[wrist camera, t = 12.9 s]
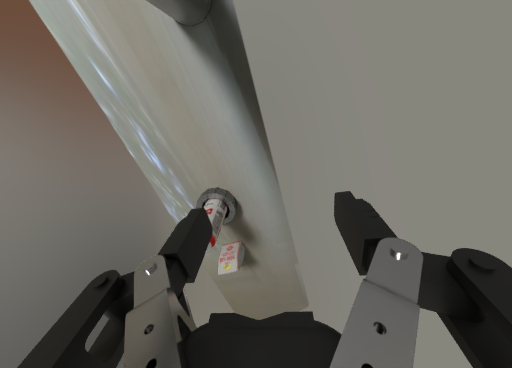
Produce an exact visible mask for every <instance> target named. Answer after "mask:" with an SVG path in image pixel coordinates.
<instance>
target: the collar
mask: <svg viewBox="0 0 512 368" xmlns="http://www.w3.org/2000/svg"><path fill="white" fill-rule="evenodd" d="M211 198H217V199H220V200H223V201H224V202H225V203H226V204H227V205H228V209H227V212H228V211H229V210H230V211H229V212H228V213H227V212H226V215H225V218H224V220H223V223H222V225H223V224H227V223H228V222H230V221H231V220H233V218H234V215H235V212H236V209H237V203H236V200H235V197H234V196H233V195H232V194H231V193H229V192H227V190H224V189H221V188H211V189H207V190H206V191H205V192H203V193H202V194H201V196H200V197H199V199H198V201H197V205H196V209H197V208H204V206H205V201H206V202H207V200H208V199H211Z"/></svg>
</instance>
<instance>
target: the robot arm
mask: <svg viewBox="0 0 512 368" xmlns="http://www.w3.org/2000/svg"><path fill="white" fill-rule="evenodd" d="M146 1H148V2H149V3H151V4H152V5H154V6H155V7H157V8H158V9H160V10H161V11H163V12H164V13H166V14H167V15H169V16H170V17H172V18H173V19H175V20H176V21H178V22H180V23H181V24H184V25H196V24H198V23H200V22H201V21H203V19H204V18H205V17H206V16H207V14H208V12H209V9H210V6H211V0H146ZM334 203H335V204H334V217H335V222H336V225H337V227H338V229H339V231H340V233H341V236H342V238H343V240H344V242H345V244H346V246H347V249H348V251H349V253H350V255H351V257H352V259H353V262H354V264H355V266H356V268H357V270H358V272H359V275H367V276H366V278H365V279H363V281H362V283H361V285H360V288H359V291H358V293H357V296H356V299H355V301H354V304H353V307H352V309H351V312H350V315H349V317H348V320H347V323H346V325H345V328H344V330H343V333H342V335H341V334H340V333H339V332H337V331H336V330H335V329H333V328H331V327H329V326H328V325H326V324H324V323H321V322H319V321H315V320H314V318H313V312H284V313H281V314H278V315H275V316H272V317H269V318H265V319H262V320H255V319H252V318H249V317H246V316H242V315H239V314H236V313H212V314H211V315H210V319H209V323H206V324H204V325H202V326H200V327H199V328H197V327H196V325H195V323H194V320H193V317H192V313H191V310H190V306H189V303H188V300H187V296H186V293H185V290H184V289H183V288H184V285H185V283H194V281H195V278H196V276H197V273H198V270H199V268H200V265H201V263H202V260H203V258H204V255H205V253H206V250H207V247H208V245H209V242H210V240H211V237H212V234H213V228H212V224H211V222H210V219H209V217H208V214H207V212H206V210H205V208H197V209H192V210H191V211H190V212H189V214H188V215H187V217H186V218H184V219H183V220H181V221H180V222H179V223H178V224H177V226H176V227H175V229H174V231H173V232H172V233H171V236H170V237H169V238H168V240H167V241H166V243H165V244H164V246H163V247H162V249H161V250H160V252H159V253H158V255H156V256H152V257H150V258H148V259H146V260H145V261H144V262H142V263H141V264H140V265H139V266H138V267H137V269H136V271H134V272H131V273H128V274H126V275H123V276H121V275H120V274H119V273H118V272H117V271H116V270H110V271H107V272H104V273H103V274H101V275H99V276H98V277H96V278H95V279H94V280H92V281H91V282H90V284H88V286H87V287H86V288H85V289H84V290H83V291H82V293H81V294H80V295H79V296H78V297H77V298H76V300H75V301H74V302H73V303H72V304H71V305H70V307H69V308H68V309H67V310H66V311H65V313H64V314H63V315H62V316H61V317H60V318H59V320H58V321H57V322H56V323H55V324H54V325H53V326H52V328H51V329H50V330H49V331H48V332H47V334H46V335H45V336H44V337H43V338H42V339H41V341H40V342H39V343H38V344H37V345H36V346H35V348H34V349H33V350H32V351H31V352H30V353H29V354H28V356H27V357H26V358H25V359H24V360H23V361H22V363H21V364H20V365H19V366H18V367H17V368H116V367H117V365H118V363H119V361H120V359H121V357H122V355H123V353H124V368H413V362H414V353H415V345H416V337H417V328H418V320H419V310H420V308H423V309H427V310H430V311H434V312H437V314H438V315H439V317H440V318H441V320H442V321H443V323H444V324H445V326H446V327H447V329H448V331H449V332H450V334H451V335H452V337H453V338H454V340H455V341H456V343H457V344H458V345H459V347H460V349H461V350H462V352H463V353H464V355H465V356H466V358H467V359H468V361H469V362H470V364H471V365H472V367H473V368H512V268H511V267H510V266H508V265H507V264H506V263H505V262H503V261H502V260H500V259H498V258H496V257H494V256H493V255H490V254H488V253H485V252H482V251H479V250H474V249H469V248H460V249H456V250H455V251H453V252H452V254H451V256H450V257H447V256H442V255H435V254H430V253H424V252H421V251H420V250H419V249H418V248H417V247H416V246H414V245H413V244H411V243H410V242H408V241H405V240H402V239H399V238H397V236H396V235H395V234H394V233H393V231H392V230H391V229H390V228H389V226H388V225H387V224H386V223H385V222H384V220H383V219H382V218H381V217H380V216H379V214H378V213H377V212H376V211H375V209H374V208H373V207H372V206H371V205H370V204H369V203H367V202H366V201H364V200H363V199H355V197H354V196H353V194H352V193H351V192H350V191H346V192H337V193H335V201H334ZM103 314H104V315H105V316H106V317H107V318H108V319H109V320H108V322H107V323H106V325H105V326H104V328H103V330H102V331H101V333H100V334H99V336H98V337H97V339H96V340H95V342H94V344H93V345H92V347H91V348H90V350H89V351H88V352H87V351H86V350H85V343H86V340H87V338H88V336H89V334H90V333H91V331H92V330H93V329H94V327H95V326H96V324H97V323H98V321H99V320H100V318H101V317H102V315H103Z"/></svg>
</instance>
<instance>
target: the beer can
mask: <svg viewBox="0 0 512 368" xmlns="http://www.w3.org/2000/svg"><path fill="white" fill-rule="evenodd" d="M204 208H205V210H206V212H207V214H208V217H209V219H210V222H211V224H212V228H213V234H212V237H211V240H210V242H209V245H208V247H207V250H206V252H209V251H210V250H211V248H212V247H213V246H214V245H215V243H216V241H217V238H218V235H219V232H220V229H221V226H222V223H223V220H224V218H225V215H226V212H227V209H228V205H227V204H226V203H225V202H224V201H223V200H220V199H217V198H211V199H208V200H207V202H206V204H205V206H204Z"/></svg>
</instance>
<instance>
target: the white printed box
mask: <svg viewBox="0 0 512 368" xmlns="http://www.w3.org/2000/svg"><path fill="white" fill-rule="evenodd" d="M244 252H245V247H244V246H243V244H242V242H241V241H238V242H234V243H230V244H226V245H223V247H222V251H221V254H220V257H219V269H218V275H223V274H228V273H233V272H238V271H239V269H240V267H241V265H242V264H243V259H244Z"/></svg>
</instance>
